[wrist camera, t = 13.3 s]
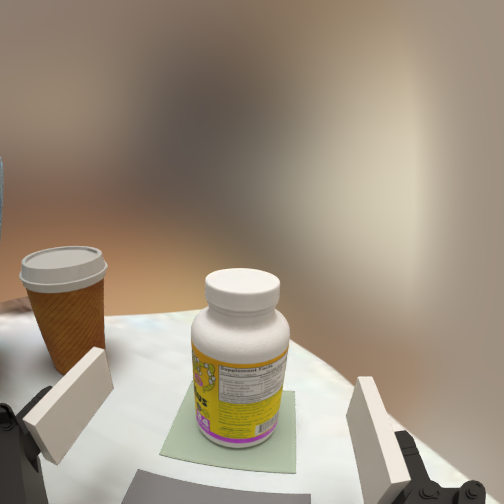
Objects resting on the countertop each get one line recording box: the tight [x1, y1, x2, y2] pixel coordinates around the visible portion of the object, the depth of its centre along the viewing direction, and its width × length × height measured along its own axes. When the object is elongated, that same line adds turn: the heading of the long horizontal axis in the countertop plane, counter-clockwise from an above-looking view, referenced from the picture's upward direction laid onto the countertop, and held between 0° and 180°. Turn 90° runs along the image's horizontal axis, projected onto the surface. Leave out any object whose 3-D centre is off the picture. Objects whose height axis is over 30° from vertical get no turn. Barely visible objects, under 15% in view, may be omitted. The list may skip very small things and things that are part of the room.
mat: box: [159, 380, 296, 473], centre depth 22 cm, size 10×10×1 cm
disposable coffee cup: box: [19, 246, 107, 375], centre depth 26 cm, size 10×10×12 cm
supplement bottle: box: [191, 268, 290, 448], centre depth 20 cm, size 7×7×13 cm
